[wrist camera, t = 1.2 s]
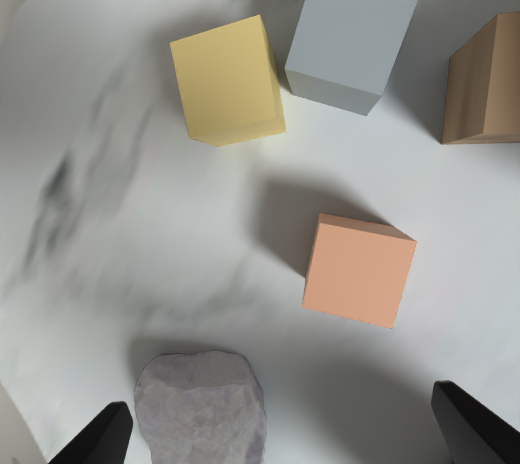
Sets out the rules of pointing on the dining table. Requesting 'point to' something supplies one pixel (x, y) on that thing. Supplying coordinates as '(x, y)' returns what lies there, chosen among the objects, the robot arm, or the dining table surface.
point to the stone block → (201, 409)
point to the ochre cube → (229, 83)
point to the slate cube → (346, 50)
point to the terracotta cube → (357, 269)
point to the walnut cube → (485, 86)
